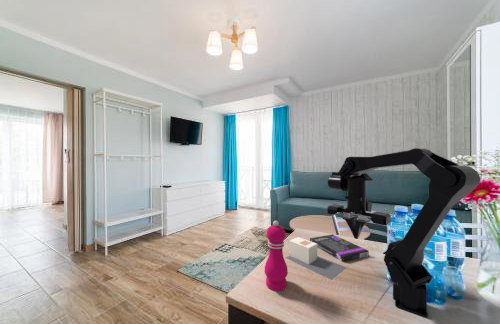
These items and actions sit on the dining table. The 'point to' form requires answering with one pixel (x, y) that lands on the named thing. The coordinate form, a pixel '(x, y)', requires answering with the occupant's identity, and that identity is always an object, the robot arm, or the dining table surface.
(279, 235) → the pepper mill
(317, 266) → the mat
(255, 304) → the dining table surface
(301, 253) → the block
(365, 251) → the box
